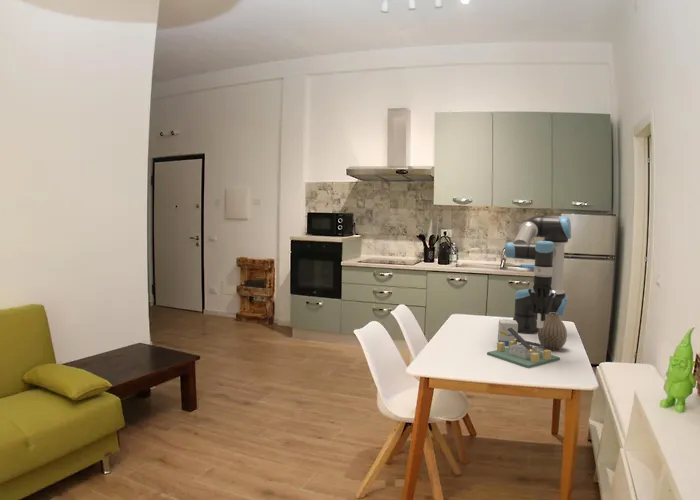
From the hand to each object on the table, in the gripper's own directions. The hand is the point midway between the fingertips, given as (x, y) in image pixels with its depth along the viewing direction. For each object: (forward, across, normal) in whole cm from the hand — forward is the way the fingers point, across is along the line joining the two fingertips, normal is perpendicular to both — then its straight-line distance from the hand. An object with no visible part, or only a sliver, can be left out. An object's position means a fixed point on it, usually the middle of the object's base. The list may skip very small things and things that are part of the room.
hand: (539, 327), depth 217 cm
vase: (+15, -7, +20) cm, 26 cm away
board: (+14, -5, -4) cm, 16 cm away
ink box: (+15, -23, +8) cm, 28 cm away
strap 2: (+9, -5, 0) cm, 10 cm away
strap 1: (+6, -4, -8) cm, 11 cm away
